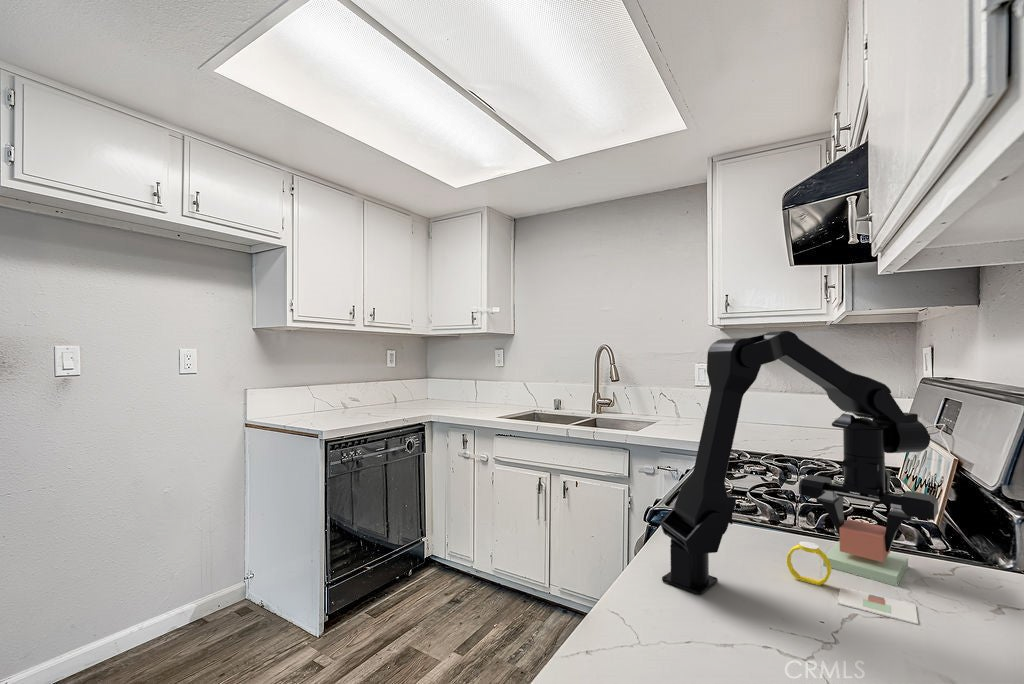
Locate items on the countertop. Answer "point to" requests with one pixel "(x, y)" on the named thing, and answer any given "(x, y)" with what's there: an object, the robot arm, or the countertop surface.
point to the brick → (863, 540)
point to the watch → (813, 549)
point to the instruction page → (878, 605)
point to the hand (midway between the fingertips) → (864, 545)
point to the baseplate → (868, 565)
